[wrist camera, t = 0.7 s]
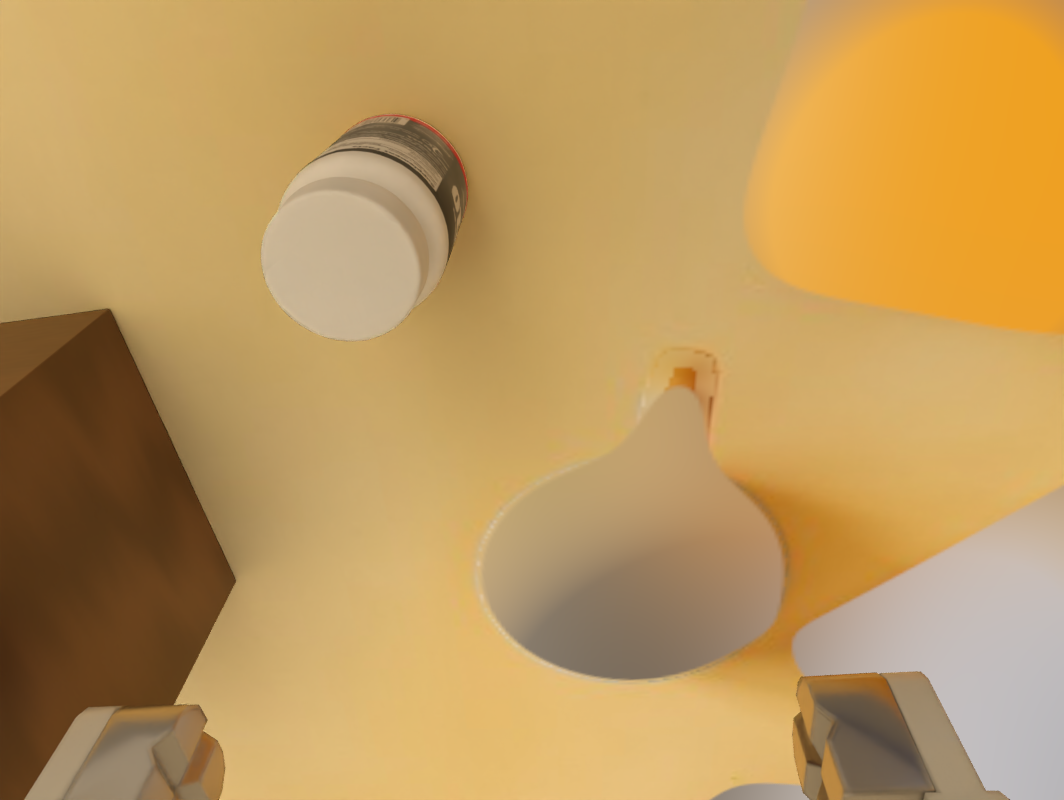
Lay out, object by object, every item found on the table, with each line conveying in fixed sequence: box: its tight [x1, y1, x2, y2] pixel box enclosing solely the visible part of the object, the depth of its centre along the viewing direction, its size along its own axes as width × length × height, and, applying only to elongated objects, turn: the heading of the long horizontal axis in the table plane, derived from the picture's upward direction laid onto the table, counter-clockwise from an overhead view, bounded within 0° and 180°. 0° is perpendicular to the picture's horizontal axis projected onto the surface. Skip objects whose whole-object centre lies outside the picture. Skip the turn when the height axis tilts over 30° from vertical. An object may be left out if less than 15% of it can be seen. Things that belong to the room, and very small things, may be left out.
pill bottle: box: [261, 114, 468, 341], centre depth 23 cm, size 5×5×8 cm
